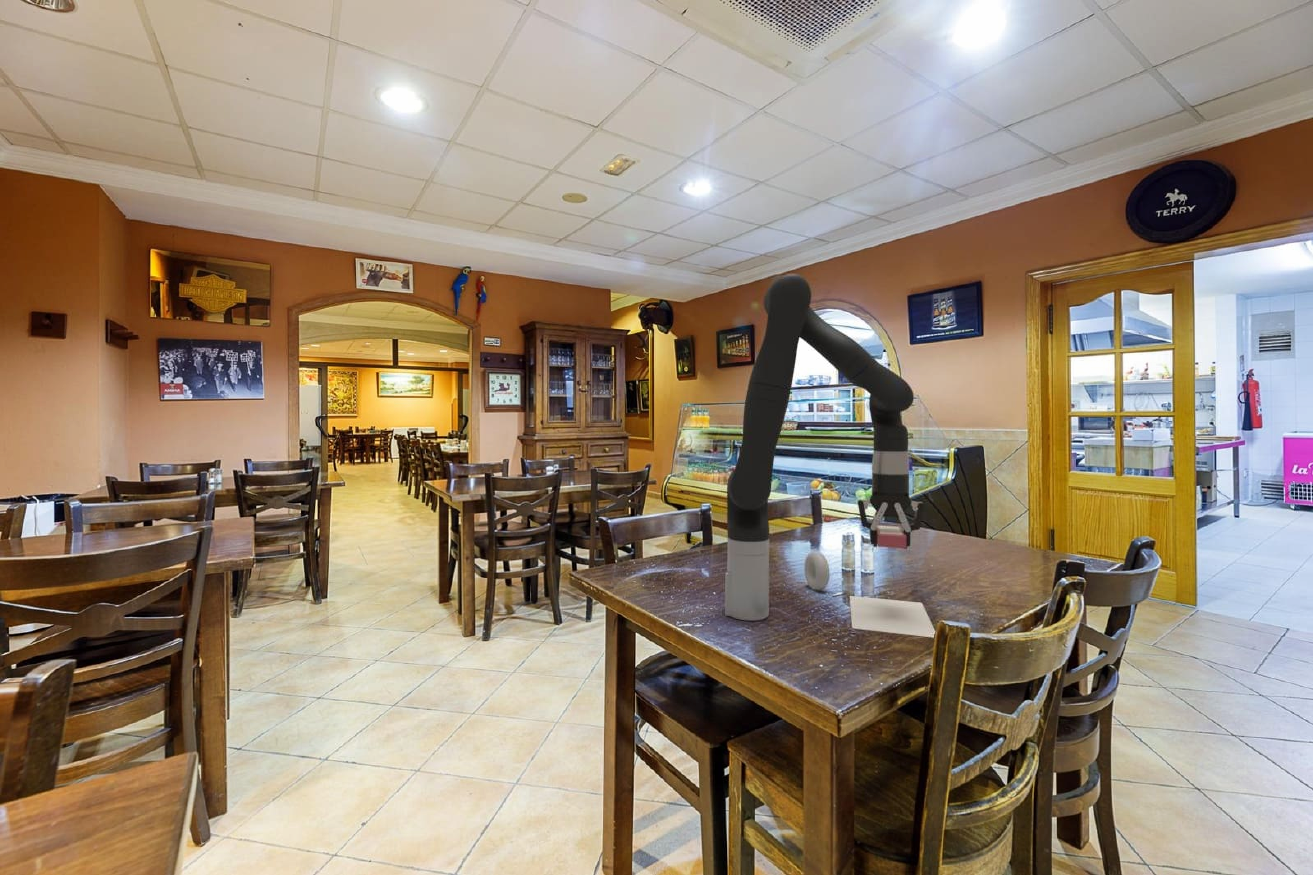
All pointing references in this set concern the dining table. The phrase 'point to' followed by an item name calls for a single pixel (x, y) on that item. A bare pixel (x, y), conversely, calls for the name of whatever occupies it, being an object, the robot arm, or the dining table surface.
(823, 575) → the donut
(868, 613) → the mat
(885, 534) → the card case
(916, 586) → the dining table surface
